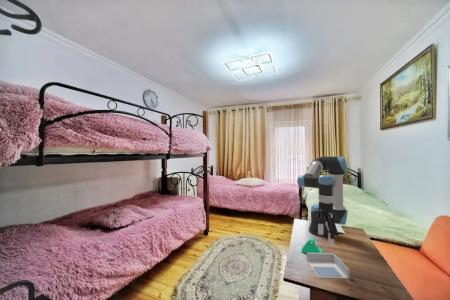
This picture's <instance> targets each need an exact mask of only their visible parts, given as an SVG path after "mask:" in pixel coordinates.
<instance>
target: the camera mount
mask: <svg viewBox="0 0 450 300" xmlns="http://www.w3.org/2000/svg"><path fill="white" fill-rule="evenodd" d="M301 252H302V253H306V254H307V253H323V250H322V249H321V248H319V247H318V246H317V244H316V241H315V239H313V238H308V240H307V241H306V243H305V244H303V246H302V248H301Z"/></svg>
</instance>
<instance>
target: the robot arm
mask: <svg viewBox="0 0 450 300" xmlns="http://www.w3.org/2000/svg"><path fill="white" fill-rule="evenodd" d="M321 171H325V172H327V174H326V175H325V174H321V175H319V173H320V172H321ZM347 172H348V164H347V160H346V158H345V157H344V156H323V155H322V156H319V157H317V158H315V159H313V160H312V161H310V163H309V167H308V168H307V170H306V172H305V173H304V174H303V175H302V174H301V175H298V176H297V178H296V179H297V180H296V181H297V182H296V183H297V186H298V187H303V188H311V189H318V196H317V198H318V201H319V202H318V203H315V204H312V205H311V206H310V223H309V226H308V232H309V233H311V234H312V235H314V236H319V237H327V236H328V237H327V238H328V245H329V246H330V245H333V246H334V245H335V234H337V233H338V232H337V227H336V225H343V226H345V225H346V224H347V223H346V222H347V217H348V213H349V210H347V209H346V207H345V205H344V175H346V173H347ZM318 175H319V176H318Z"/></svg>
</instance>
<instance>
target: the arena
mask: <svg viewBox="0 0 450 300" xmlns="http://www.w3.org/2000/svg"><path fill="white" fill-rule="evenodd" d="M306 262H307V264H308V265H309V266H310V268H311V270H313V272H314V274H315V275H316V276H317V278H318V279H345V280H346V279H350V278H351V276H350V275H351V274H350V273H351V271H350V268H349V267H348V266H347V265H346V264H345V263H344V262H343V261H342V260H341V259H340V258H339V257H338V256H337V255H336V254H335V253H334V252H332V253H331V252H322V253H306Z"/></svg>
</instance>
